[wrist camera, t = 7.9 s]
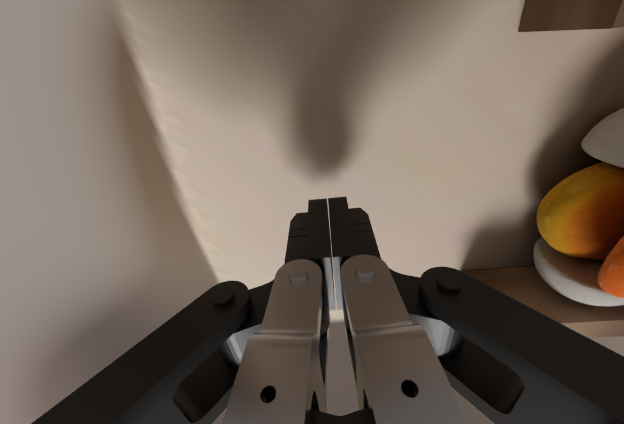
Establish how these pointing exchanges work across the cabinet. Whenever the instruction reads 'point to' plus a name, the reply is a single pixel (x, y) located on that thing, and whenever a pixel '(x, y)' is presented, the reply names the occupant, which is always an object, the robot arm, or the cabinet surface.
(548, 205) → the rainbow disc stack
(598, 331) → the bay
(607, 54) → the cabinet surface
